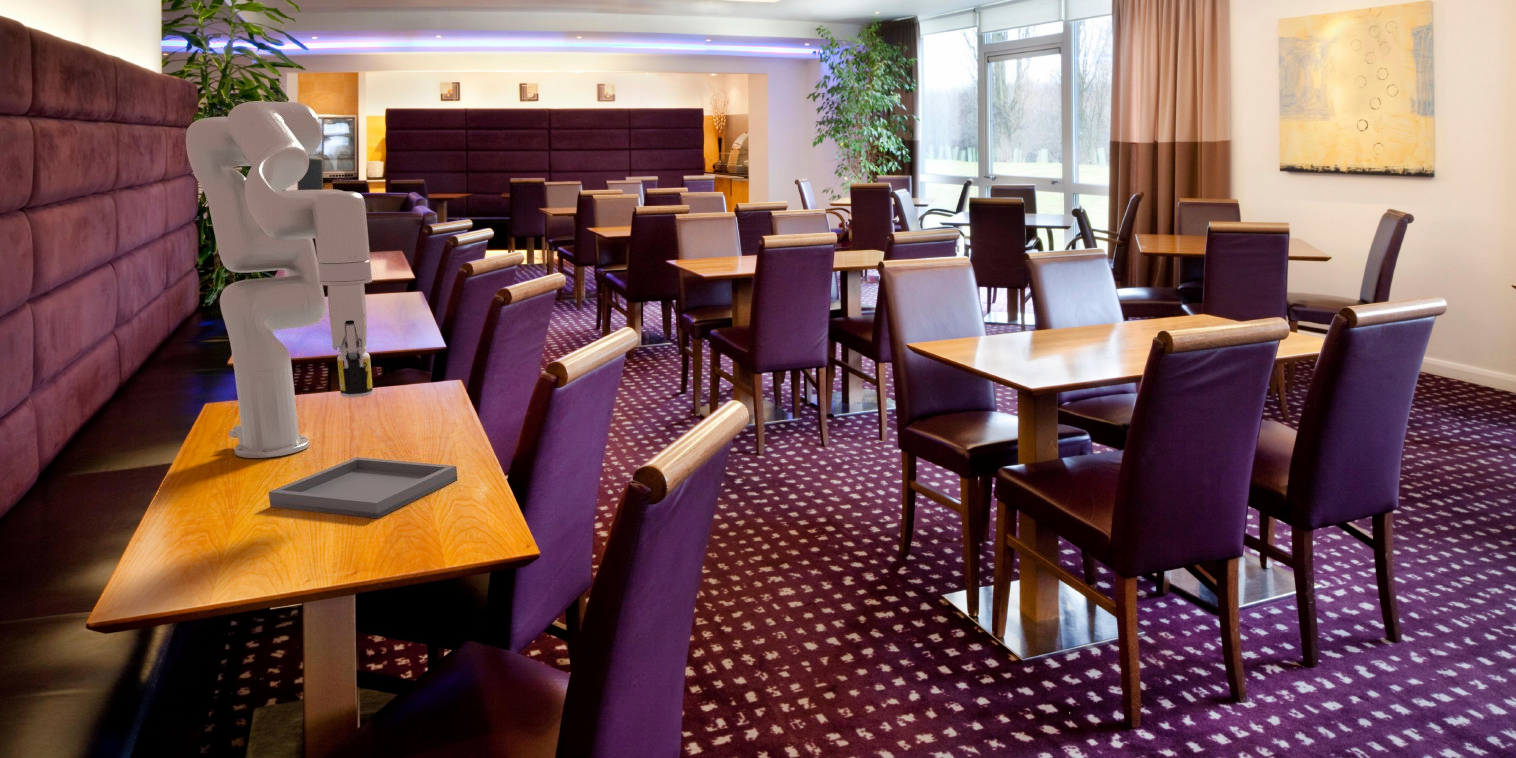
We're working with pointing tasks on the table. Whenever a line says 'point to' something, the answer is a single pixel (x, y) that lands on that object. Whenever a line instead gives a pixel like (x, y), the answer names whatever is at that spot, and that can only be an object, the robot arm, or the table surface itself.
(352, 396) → the supplement bottle
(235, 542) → the table surface
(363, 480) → the serving tray
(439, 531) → the table surface
